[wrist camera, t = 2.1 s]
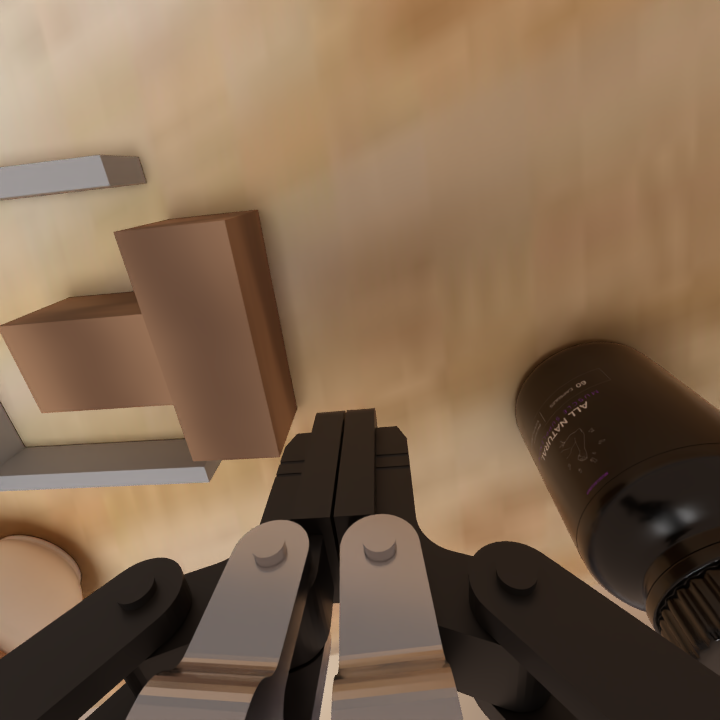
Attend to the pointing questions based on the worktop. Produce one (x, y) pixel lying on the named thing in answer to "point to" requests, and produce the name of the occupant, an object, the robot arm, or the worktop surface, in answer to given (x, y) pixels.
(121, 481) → the grey fence
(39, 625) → the lidded jar
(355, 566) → the robot arm
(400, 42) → the worktop surface
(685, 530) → the supplement bottle
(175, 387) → the t block
